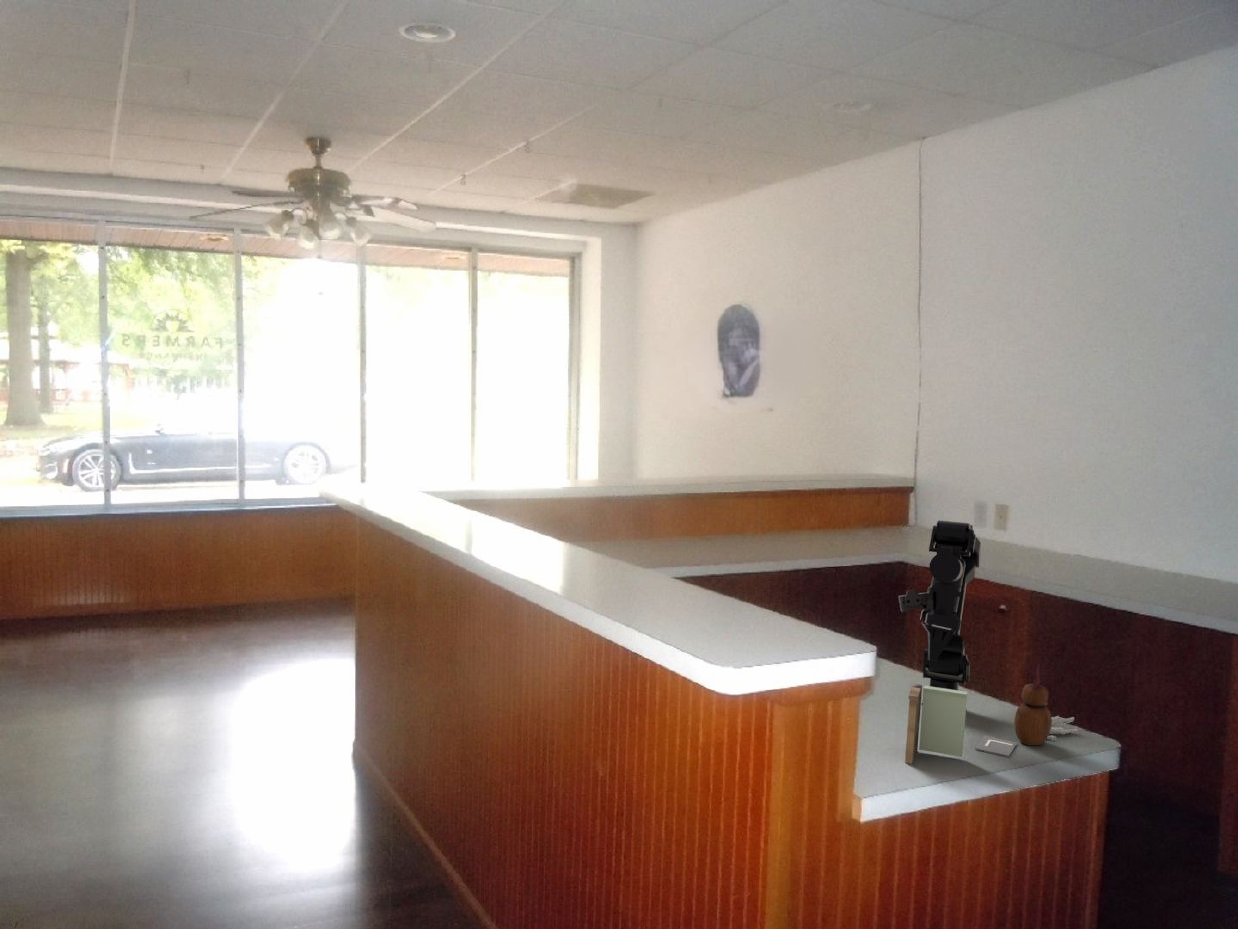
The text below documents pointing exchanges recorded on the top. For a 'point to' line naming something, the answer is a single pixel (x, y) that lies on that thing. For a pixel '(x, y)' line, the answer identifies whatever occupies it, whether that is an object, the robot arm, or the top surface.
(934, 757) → the top surface
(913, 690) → the brown upright slab
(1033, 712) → the wooden figurine
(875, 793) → the top surface
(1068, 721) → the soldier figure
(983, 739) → the card
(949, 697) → the pale green rectangular panel
